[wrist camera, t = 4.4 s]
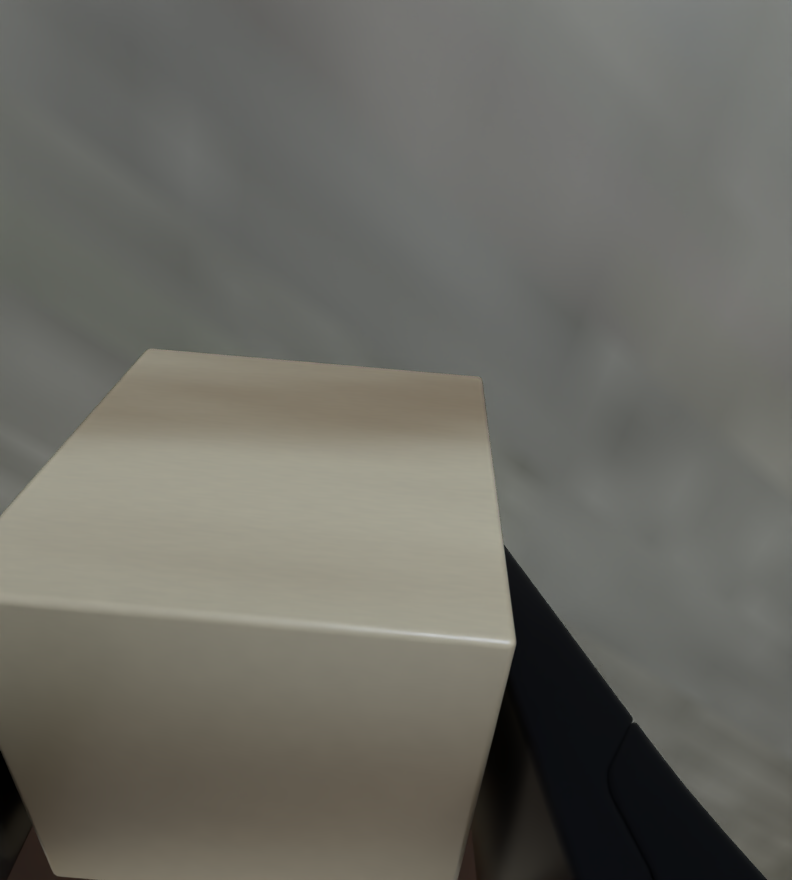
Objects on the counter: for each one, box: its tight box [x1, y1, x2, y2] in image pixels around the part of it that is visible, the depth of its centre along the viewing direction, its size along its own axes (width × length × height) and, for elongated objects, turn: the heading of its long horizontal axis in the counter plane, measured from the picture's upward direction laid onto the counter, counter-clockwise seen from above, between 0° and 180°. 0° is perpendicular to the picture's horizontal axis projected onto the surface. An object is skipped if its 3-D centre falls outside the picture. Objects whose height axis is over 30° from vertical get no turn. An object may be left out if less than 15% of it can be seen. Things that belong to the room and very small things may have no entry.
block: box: [0, 349, 517, 880], centre depth 8 cm, size 5×5×5 cm
